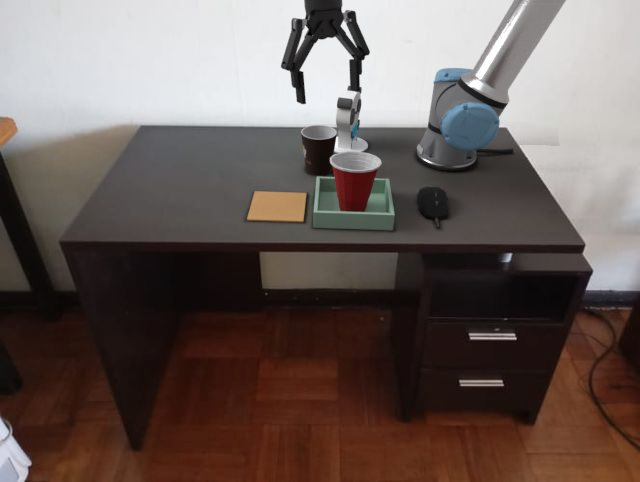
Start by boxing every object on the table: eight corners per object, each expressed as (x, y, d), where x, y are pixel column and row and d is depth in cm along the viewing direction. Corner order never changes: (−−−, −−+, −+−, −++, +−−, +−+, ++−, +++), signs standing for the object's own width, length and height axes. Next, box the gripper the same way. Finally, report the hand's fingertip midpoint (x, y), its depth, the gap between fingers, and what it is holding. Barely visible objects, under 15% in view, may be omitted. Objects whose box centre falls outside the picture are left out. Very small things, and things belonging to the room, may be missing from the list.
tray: (387, 192, 117) (389, 178, 115) (392, 230, 105) (394, 215, 102) (316, 190, 118) (316, 176, 115) (313, 227, 105) (313, 212, 103)
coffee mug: (332, 179, 122) (333, 141, 116) (297, 175, 124) (297, 137, 118) (340, 158, 132) (341, 122, 126) (308, 155, 133) (308, 119, 127)
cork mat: (306, 194, 116) (306, 192, 116) (303, 222, 106) (303, 221, 106) (254, 192, 116) (254, 191, 116) (246, 220, 107) (246, 219, 106)
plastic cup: (379, 198, 115) (383, 150, 108) (374, 224, 106) (379, 173, 99) (332, 193, 116) (333, 145, 109) (324, 218, 107) (325, 168, 100)
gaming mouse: (423, 227, 106) (425, 211, 103) (415, 192, 118) (418, 177, 115) (453, 228, 105) (456, 212, 103) (442, 193, 117) (445, 178, 115)
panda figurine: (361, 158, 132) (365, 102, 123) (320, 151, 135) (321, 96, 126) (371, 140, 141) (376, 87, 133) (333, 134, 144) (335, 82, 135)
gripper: (364, -20, 106) (366, 83, 117) (256, -7, 96) (269, 104, 107) (385, -19, 100) (385, 89, 111) (273, -5, 90) (285, 112, 101)
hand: (328, 96), depth 109 cm, fingers open, 13 cm apart
